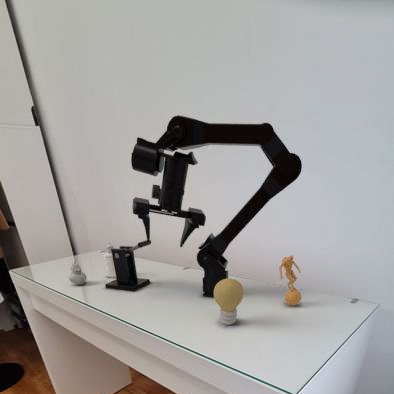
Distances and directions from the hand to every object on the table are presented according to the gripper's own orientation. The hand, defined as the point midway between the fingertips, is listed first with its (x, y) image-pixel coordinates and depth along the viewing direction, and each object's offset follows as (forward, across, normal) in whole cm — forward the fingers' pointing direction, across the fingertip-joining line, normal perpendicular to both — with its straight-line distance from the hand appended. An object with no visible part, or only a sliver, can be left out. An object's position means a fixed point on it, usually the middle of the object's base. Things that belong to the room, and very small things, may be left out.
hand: (164, 244), depth 80 cm
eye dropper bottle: (+21, +13, -19) cm, 31 cm away
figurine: (+3, -30, +23) cm, 38 cm away
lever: (+6, +8, -6) cm, 12 cm away
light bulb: (+6, -12, +29) cm, 32 cm away
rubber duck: (+22, +24, -14) cm, 36 cm away
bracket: (+17, +9, -7) cm, 20 cm away
